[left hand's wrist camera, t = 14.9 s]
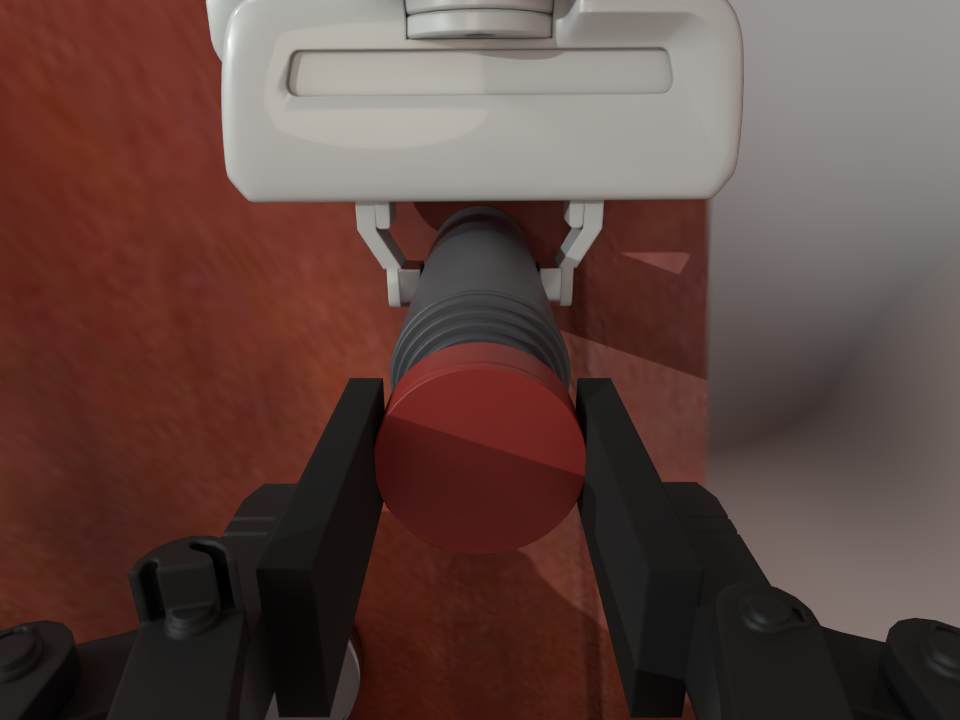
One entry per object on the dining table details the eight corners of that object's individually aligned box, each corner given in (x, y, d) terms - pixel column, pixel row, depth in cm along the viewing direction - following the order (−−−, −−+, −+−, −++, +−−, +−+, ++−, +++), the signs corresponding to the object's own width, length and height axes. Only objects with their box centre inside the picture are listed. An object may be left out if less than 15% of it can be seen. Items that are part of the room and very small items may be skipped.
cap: (489, 544, 16) (489, 588, 14) (344, 440, 15) (330, 476, 13) (617, 423, 15) (632, 458, 13) (469, 300, 14) (468, 322, 12)
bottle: (484, 318, 35) (490, 591, 15) (413, 258, 34) (314, 467, 14) (547, 249, 34) (648, 447, 14) (475, 184, 33) (466, 296, 12)
